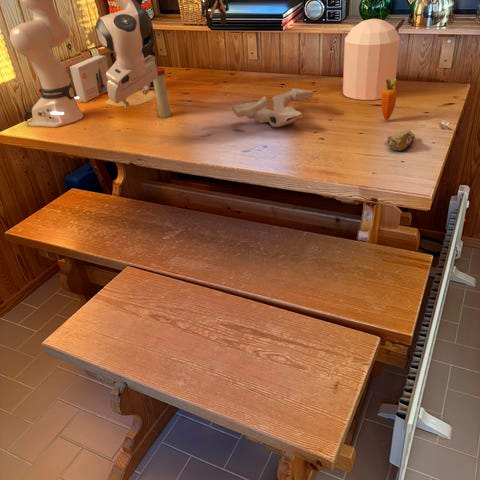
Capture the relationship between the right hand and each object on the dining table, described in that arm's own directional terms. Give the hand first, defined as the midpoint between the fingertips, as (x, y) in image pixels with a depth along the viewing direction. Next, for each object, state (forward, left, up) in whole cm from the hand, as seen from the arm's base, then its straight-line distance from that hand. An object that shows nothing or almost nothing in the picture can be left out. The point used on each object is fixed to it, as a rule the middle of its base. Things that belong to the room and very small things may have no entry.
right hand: (217, 25), depth 186 cm
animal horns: (+39, -17, -29) cm, 52 cm away
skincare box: (-63, -20, -29) cm, 72 cm away
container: (+54, +29, -29) cm, 68 cm away
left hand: (-1, -48, -15) cm, 50 cm away
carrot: (+73, +1, -29) cm, 78 cm away
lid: (-10, -27, -11) cm, 31 cm away
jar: (-10, -27, -29) cm, 41 cm away
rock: (+85, -18, -29) cm, 91 cm away
